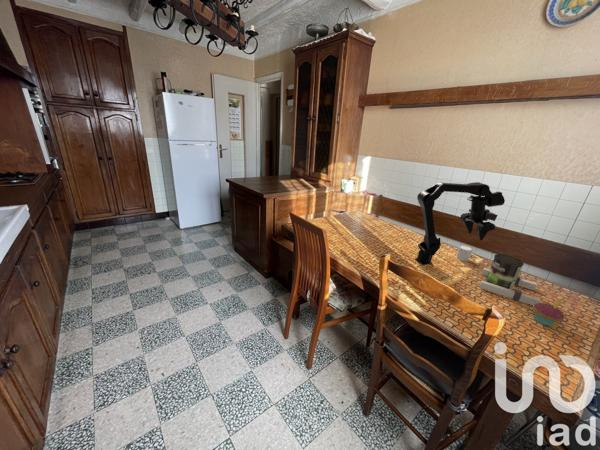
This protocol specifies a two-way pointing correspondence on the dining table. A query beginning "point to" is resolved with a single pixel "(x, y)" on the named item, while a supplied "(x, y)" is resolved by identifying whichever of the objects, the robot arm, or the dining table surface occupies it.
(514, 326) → the dining table surface
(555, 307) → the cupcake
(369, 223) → the dining table surface
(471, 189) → the robot arm
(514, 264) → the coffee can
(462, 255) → the shot glass
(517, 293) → the guide track
